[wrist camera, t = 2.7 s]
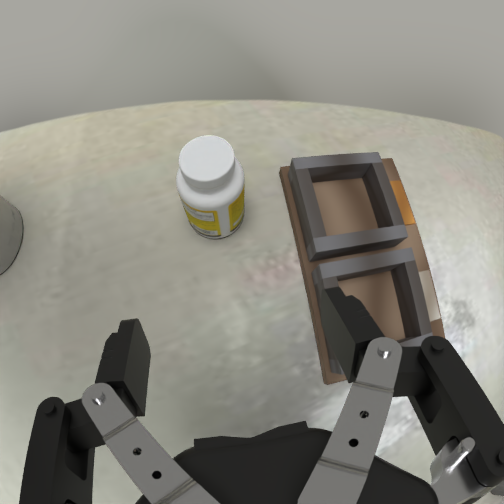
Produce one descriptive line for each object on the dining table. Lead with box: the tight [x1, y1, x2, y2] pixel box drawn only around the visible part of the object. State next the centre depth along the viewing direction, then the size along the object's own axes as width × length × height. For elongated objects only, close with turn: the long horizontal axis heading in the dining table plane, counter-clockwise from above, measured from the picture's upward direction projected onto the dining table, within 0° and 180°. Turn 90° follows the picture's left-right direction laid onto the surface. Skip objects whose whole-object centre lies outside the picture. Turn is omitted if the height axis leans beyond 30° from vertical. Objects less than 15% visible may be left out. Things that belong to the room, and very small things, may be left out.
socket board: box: [279, 152, 445, 385], centre depth 28 cm, size 13×21×4 cm, turn 10°
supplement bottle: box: [176, 135, 245, 238], centre depth 26 cm, size 5×5×10 cm
